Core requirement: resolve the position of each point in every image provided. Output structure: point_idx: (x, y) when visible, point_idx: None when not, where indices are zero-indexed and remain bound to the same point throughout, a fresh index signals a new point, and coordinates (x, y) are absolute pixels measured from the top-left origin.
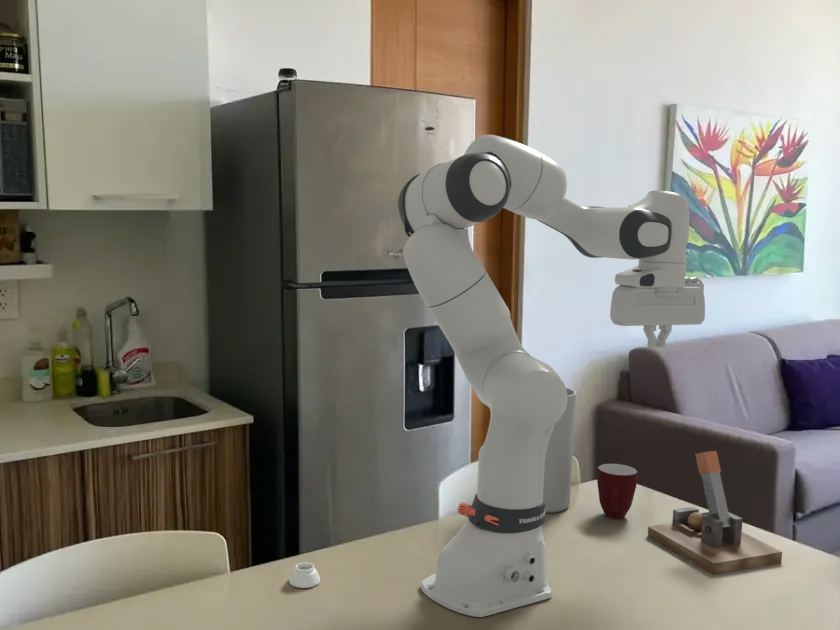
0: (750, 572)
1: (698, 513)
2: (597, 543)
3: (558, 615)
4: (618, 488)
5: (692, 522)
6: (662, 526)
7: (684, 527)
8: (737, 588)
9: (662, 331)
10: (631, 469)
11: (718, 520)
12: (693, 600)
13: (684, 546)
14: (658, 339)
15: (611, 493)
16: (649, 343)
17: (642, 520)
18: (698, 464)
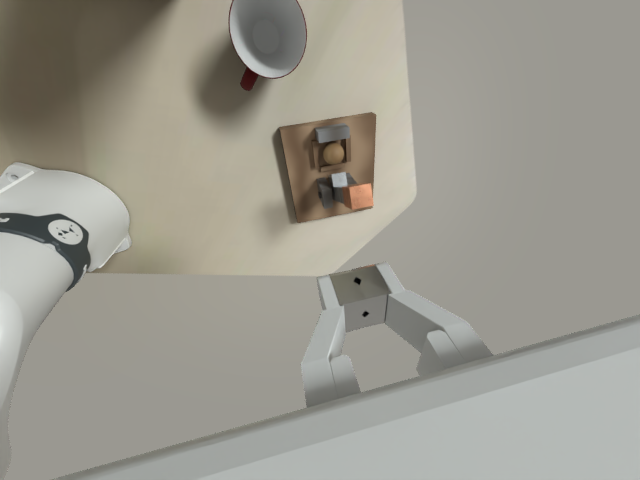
0: (329, 217)
1: (335, 159)
2: (206, 138)
3: (136, 266)
4: (256, 77)
5: (324, 158)
6: (297, 133)
7: (314, 156)
8: (300, 238)
9: (427, 330)
10: (303, 24)
11: (329, 205)
12: (255, 252)
13: (291, 188)
14: (363, 323)
15: (241, 81)
16: (321, 299)
17: (299, 69)
18: (345, 189)
